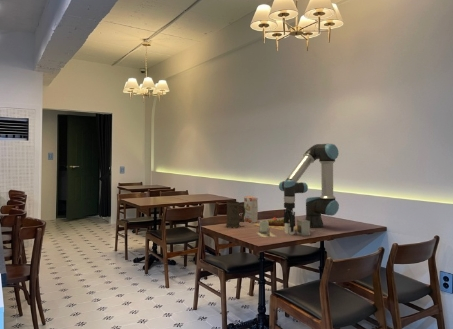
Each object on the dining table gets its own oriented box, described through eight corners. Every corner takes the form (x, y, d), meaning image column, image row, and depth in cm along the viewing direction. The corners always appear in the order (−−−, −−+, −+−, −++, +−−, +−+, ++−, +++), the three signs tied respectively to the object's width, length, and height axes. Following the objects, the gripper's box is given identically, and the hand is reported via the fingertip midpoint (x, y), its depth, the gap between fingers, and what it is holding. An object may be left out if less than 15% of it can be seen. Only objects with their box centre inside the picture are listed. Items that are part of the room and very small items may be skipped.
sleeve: (291, 234, 255) (291, 222, 255) (294, 235, 250) (294, 224, 250) (284, 234, 254) (284, 223, 254) (287, 236, 249) (287, 224, 248)
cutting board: (252, 226, 289) (252, 216, 289) (274, 223, 303) (274, 214, 303) (283, 233, 261) (283, 223, 261) (305, 229, 274) (305, 220, 274)
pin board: (269, 233, 258) (269, 224, 257) (277, 238, 242) (277, 228, 242) (254, 234, 255) (254, 225, 255) (262, 239, 239) (262, 229, 239)
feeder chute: (304, 233, 259) (304, 219, 259) (309, 235, 251) (309, 221, 251) (296, 233, 257) (296, 219, 257) (301, 235, 250) (301, 221, 249)
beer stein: (228, 228, 277) (229, 202, 277) (223, 225, 287) (224, 200, 287) (246, 228, 283) (248, 202, 283) (240, 225, 293) (242, 201, 293)
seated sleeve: (266, 231, 256) (266, 220, 256) (269, 233, 251) (269, 222, 251) (258, 232, 255) (258, 221, 255) (261, 233, 249) (261, 222, 249)
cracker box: (243, 220, 312) (243, 196, 312) (250, 220, 315) (250, 196, 314) (251, 223, 299) (251, 198, 299) (257, 222, 302) (257, 197, 301)
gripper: (278, 200, 261) (278, 232, 261) (290, 204, 241) (290, 238, 241) (288, 200, 262) (288, 231, 263) (300, 203, 242) (300, 237, 243)
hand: (289, 234), depth 252 cm, fingers open, 7 cm apart
